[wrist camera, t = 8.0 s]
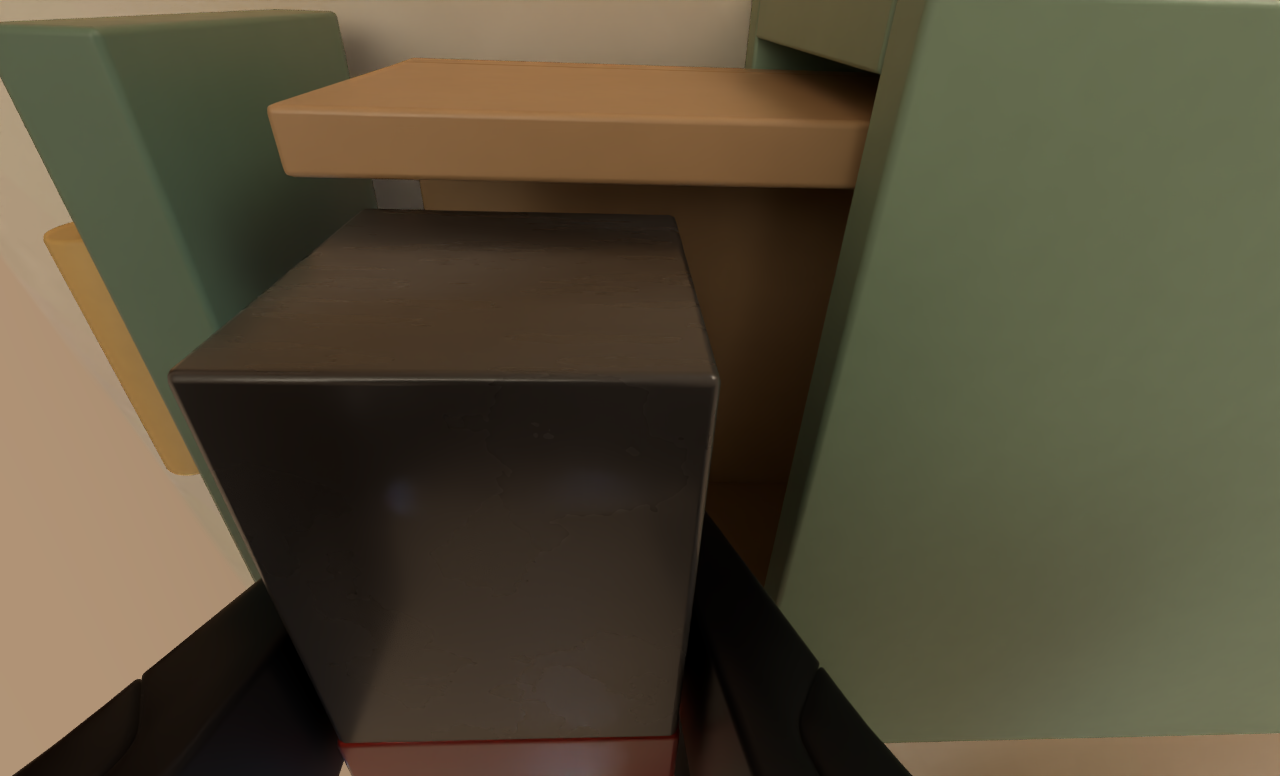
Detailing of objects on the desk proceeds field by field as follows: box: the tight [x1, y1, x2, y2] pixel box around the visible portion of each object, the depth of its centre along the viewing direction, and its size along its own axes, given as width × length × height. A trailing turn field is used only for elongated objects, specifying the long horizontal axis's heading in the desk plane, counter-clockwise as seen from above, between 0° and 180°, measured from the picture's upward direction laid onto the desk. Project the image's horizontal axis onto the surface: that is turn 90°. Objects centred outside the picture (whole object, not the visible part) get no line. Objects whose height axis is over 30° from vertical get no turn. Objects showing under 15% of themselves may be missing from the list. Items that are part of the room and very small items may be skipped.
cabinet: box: [745, 0, 1280, 743], centre depth 13 cm, size 14×14×8 cm
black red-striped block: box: [167, 209, 721, 776], centre depth 8 cm, size 4×8×4 cm, turn 178°
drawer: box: [0, 9, 880, 588], centre depth 12 cm, size 16×12×6 cm
